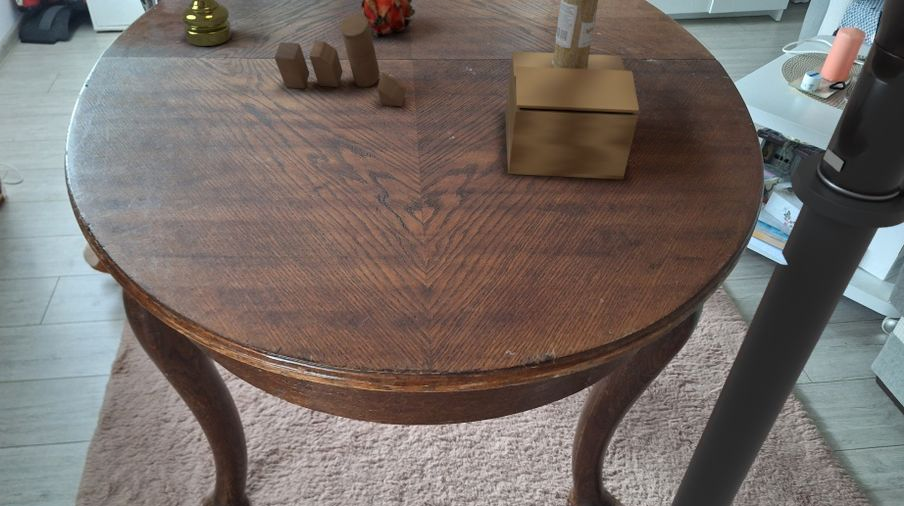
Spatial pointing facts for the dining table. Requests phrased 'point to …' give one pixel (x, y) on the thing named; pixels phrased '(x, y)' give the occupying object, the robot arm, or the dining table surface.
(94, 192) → the dining table surface
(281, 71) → the wooden block set
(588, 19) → the sprinkles bottle
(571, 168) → the carton
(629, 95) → the flap
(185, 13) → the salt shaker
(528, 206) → the dining table surface
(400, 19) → the dragon fruit
